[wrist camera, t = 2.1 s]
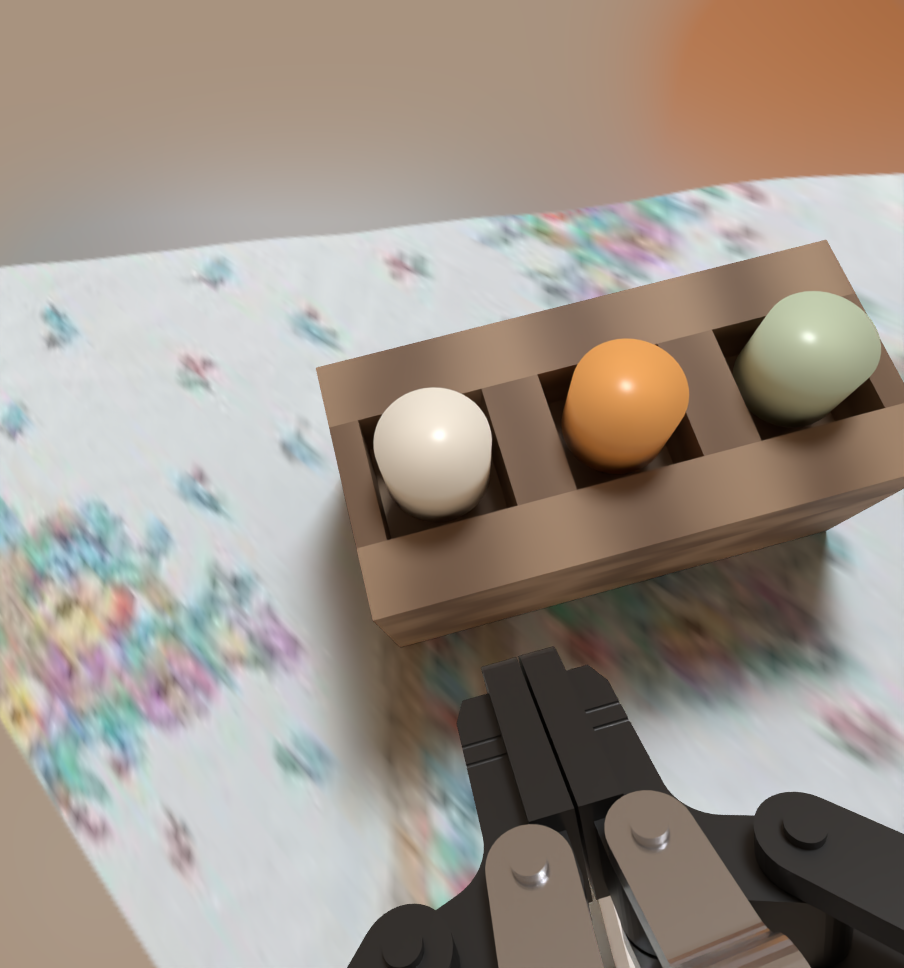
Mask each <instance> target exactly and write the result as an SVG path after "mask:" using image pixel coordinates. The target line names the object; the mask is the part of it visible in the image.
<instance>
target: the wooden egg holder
mask: <svg viewBox="0 0 904 968" xmlns="http://www.w3.org/2000/svg"><path fill="white" fill-rule="evenodd" d="M805 291H821V292H827V293H831V294H835V295H838V296H841V297H843V298H845V299H847V300H849V301H851V302H852V303H854V304H855V305H857V306H858V307H859V308H860V309H862V310H863V311H864V312H865V310H864V308H863V306H862V305H861V303H860V301H859V299H858V297H857V295H856V294H855V292H854V290H853V288H852V286H851V284H850V282H849V281H848V279H847V277H846V275H845V273H844V271H843V269H842V268H841V266H840V264H839V262H838V260H837V258H836V256H835V255H834V253H833V251H832V249H831V247H830V245H829V244H828V242H827V240H823V241H819V242H815V243H811V244H807V245H803V246H799V247H795V248H791V249H787V250H784V251H780V252H776V253H772V254H768V255H764V256H760V257H756V258H752V259H748V260H744V261H740V262H736V263H732V264H728V265H724V266H720V267H716V268H712V269H708V270H704V271H700V272H696V273H692V274H688V275H684V276H680V277H676V278H672V279H668V280H664V281H660V282H656V283H652V284H648V285H644V286H640V287H636V288H632V289H628V290H624V291H620V292H616V293H612V294H608V295H604V296H600V297H596V298H592V299H588V300H584V301H580V302H576V303H572V304H568V305H564V306H560V307H556V308H552V309H548V310H544V311H540V312H536V313H532V314H528V315H524V316H520V317H516V318H512V319H508V320H504V321H500V322H496V323H493V324H489V325H485V326H481V327H477V328H473V329H469V330H465V331H461V332H457V333H453V334H449V335H445V336H441V337H437V338H433V339H429V340H425V341H421V342H417V343H413V344H409V345H405V346H401V347H397V348H393V349H389V350H385V351H381V352H377V353H373V354H369V355H365V356H361V357H357V358H353V359H349V360H345V361H341V362H337V363H333V364H329V365H325V366H321V367H317V368H316V371H317V376H318V380H319V384H320V389H321V393H322V398H323V402H324V407H325V411H326V415H327V420H328V424H329V429H330V433H331V438H332V442H333V447H334V451H335V455H336V460H337V464H338V469H339V473H340V478H341V482H342V486H343V491H344V495H345V500H346V504H347V509H348V513H349V518H350V522H351V526H352V531H353V535H354V540H355V544H356V549H357V553H358V557H359V562H360V566H361V571H362V575H363V580H364V584H365V589H366V593H367V597H368V602H369V606H370V611H371V615H372V620H373V621H374V622H375V623H376V624H377V625H378V626H379V627H380V628H381V629H382V630H383V631H384V632H385V633H386V634H387V635H388V636H389V637H390V638H391V639H392V640H393V641H394V642H395V643H396V644H397V645H399V646H400V647H404V646H407V645H411V644H415V643H418V642H422V641H426V640H429V639H433V638H437V637H440V636H444V635H448V634H451V633H455V632H458V631H462V630H466V629H469V628H473V627H477V626H480V625H484V624H488V623H491V622H495V621H499V620H502V619H506V618H510V617H513V616H517V615H520V614H524V613H528V612H531V611H535V610H539V609H542V608H546V607H550V606H553V605H557V604H561V603H564V602H568V601H572V600H575V599H579V598H583V597H586V596H590V595H593V594H597V593H601V592H604V591H608V590H612V589H615V588H619V587H623V586H626V585H630V584H634V583H637V582H641V581H645V580H648V579H652V578H655V577H659V576H663V575H666V574H670V573H674V572H677V571H681V570H685V569H688V568H692V567H696V566H699V565H703V564H707V563H710V562H714V561H717V560H721V559H725V558H728V557H732V556H736V555H739V554H743V553H747V552H750V551H754V550H758V549H761V548H765V547H769V546H772V545H776V544H779V543H783V542H787V541H790V540H794V539H798V538H801V537H805V536H809V535H812V534H816V533H820V532H823V531H827V530H829V529H830V528H832V527H834V526H836V525H838V524H840V523H841V522H843V521H845V520H847V519H849V518H851V517H852V516H854V515H856V514H858V513H860V512H862V511H863V510H865V509H867V508H869V507H871V506H873V505H874V504H876V503H878V502H880V501H882V500H884V499H885V498H887V497H889V496H891V495H893V494H895V493H896V492H898V491H900V490H902V489H904V382H903V381H902V379H901V377H900V375H899V373H898V371H897V369H896V368H895V366H894V364H893V362H892V360H891V358H890V357H889V355H888V353H887V351H886V349H885V347H884V345H883V344H882V342H881V340H880V342H881V356H880V360H879V363H878V366H877V368H876V369H875V371H874V372H873V374H872V375H871V376H870V377H869V378H868V379H867V380H866V381H865V382H864V383H862V384H861V385H860V386H859V387H858V388H857V389H856V390H855V391H853V392H852V393H851V394H850V395H849V396H848V397H847V398H845V399H844V400H843V401H842V402H841V403H840V404H839V405H837V406H836V407H835V408H834V409H833V410H832V411H831V412H829V413H828V414H827V415H826V416H825V417H824V418H822V419H821V420H819V421H817V422H815V423H813V424H811V425H808V426H803V427H794V428H792V427H782V426H777V425H774V424H771V423H768V422H766V421H764V420H762V419H760V418H759V417H757V416H756V415H754V414H753V413H752V412H751V411H749V410H748V409H747V407H746V405H745V402H744V400H743V398H742V396H741V394H740V391H739V389H738V387H737V385H736V382H735V380H734V378H733V368H734V364H735V361H736V359H737V357H738V355H739V354H740V352H741V351H742V349H743V348H744V347H745V345H746V344H747V342H748V341H749V340H750V338H751V337H752V335H753V334H754V333H755V331H756V330H757V328H758V327H759V326H760V324H761V323H762V321H763V320H764V319H765V317H766V316H767V314H768V313H769V312H770V310H771V309H772V308H773V307H774V306H775V305H776V304H777V303H778V302H779V301H781V300H782V299H784V298H786V297H788V296H790V295H793V294H796V293H800V292H805ZM865 313H866V312H865ZM616 339H637V340H642V341H646V342H649V343H651V344H654V345H656V346H658V347H660V348H662V349H663V350H664V351H666V352H667V353H669V354H670V355H671V356H672V357H673V358H674V359H675V360H676V361H677V363H678V364H679V365H680V367H681V368H682V370H683V372H684V374H685V376H686V379H687V382H688V387H689V403H688V407H687V410H686V412H685V415H684V417H683V418H682V420H681V422H680V423H679V425H678V426H677V427H676V429H675V430H674V432H673V433H672V435H671V436H670V438H669V439H668V441H667V442H666V444H665V445H664V447H663V448H662V450H661V451H660V453H659V454H658V455H657V456H656V458H655V459H654V460H653V461H652V462H650V463H649V464H648V465H646V466H645V467H643V468H641V469H639V470H637V471H634V472H630V473H625V474H609V473H603V472H600V471H597V470H594V469H592V468H590V467H588V466H587V465H585V464H583V463H582V462H581V461H579V460H578V459H577V458H576V457H575V456H574V455H573V453H572V452H571V451H570V450H569V448H568V446H567V444H566V442H565V440H564V437H563V434H562V427H561V419H562V413H563V409H564V406H565V402H566V399H567V395H568V391H569V388H570V384H571V381H572V377H573V374H574V371H575V369H576V367H577V365H578V363H579V362H580V360H581V359H582V358H583V357H584V355H585V354H586V353H588V352H589V351H590V350H591V349H593V348H594V347H596V346H598V345H600V344H602V343H604V342H607V341H611V340H616ZM433 387H434V388H445V389H450V390H453V391H456V392H458V393H461V394H463V395H464V396H466V397H468V398H469V399H470V400H472V401H473V402H474V403H475V404H476V405H477V406H478V407H479V408H480V409H481V411H482V412H483V413H484V415H485V417H486V419H487V421H488V423H489V426H490V430H491V437H492V446H491V465H490V479H489V484H488V487H487V490H486V492H485V494H484V496H483V497H482V499H481V500H480V502H479V503H478V504H477V505H476V506H475V507H474V508H473V509H472V510H470V511H469V512H468V513H466V514H464V515H463V516H461V517H458V518H456V519H453V520H449V521H444V522H429V521H423V520H420V519H417V518H415V517H413V516H410V515H409V514H407V513H406V512H404V511H403V510H402V509H401V508H399V507H398V505H397V504H396V503H395V502H394V501H393V499H392V498H391V496H390V494H389V492H388V489H387V487H386V484H385V482H384V479H383V476H382V474H381V471H380V469H379V466H378V463H377V461H376V457H375V453H374V434H375V430H376V426H377V424H378V422H379V420H380V418H381V416H382V414H383V413H384V412H385V410H386V409H387V408H388V407H389V406H390V405H391V404H392V403H393V402H394V401H396V400H397V399H398V398H400V397H401V396H403V395H405V394H407V393H409V392H412V391H415V390H418V389H423V388H433Z"/></svg>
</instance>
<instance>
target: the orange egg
mask: <svg viewBox="0 0 904 968" xmlns="http://www.w3.org/2000/svg"><path fill="white" fill-rule="evenodd" d="M688 403H689V387H688V382H687V379H686V376H685V374H684V372H683V370H682V368H681V367H680V365H679V364H678V363H677V361H676V360H675V359H674V358H673V357H672V356H671V355H670V354H669V353H667V352H666V351H664V350H663V349H662V348H660V347H658V346H656V345H654V344H651V343H649V342H646V341H642V340H637V339H616V340H611V341H607V342H604V343H602V344H600V345H598V346H596V347H594V348H593V349H591V350H590V351H589V352H588V353H586V354H585V355H584V357H583V358H582V359H581V360H580V362H579V363H578V365H577V367H576V369H575V371H574V374H573V377H572V381H571V384H570V388H569V391H568V395H567V399H566V402H565V406H564V409H563V413H562V419H561V427H562V434H563V437H564V440H565V442H566V444H567V446H568V448H569V450H570V451H571V452H572V453H573V455H574V456H575V457H576V458H577V459H578V460H579V461H581V462H582V463H583V464H585V465H587V466H588V467H590V468H592V469H594V470H597V471H600V472H603V473H609V474H625V473H630V472H634V471H637V470H639V469H641V468H643V467H645V466H646V465H648V464H649V463H650V462H652V461H653V460H654V459H655V458H656V456H657V455H658V454H659V453H660V451H661V450H662V448H663V447H664V445H665V444H666V442H667V441H668V439H669V438H670V436H671V435H672V433H673V432H674V430H675V429H676V427H677V426H678V425H679V423H680V422H681V420H682V418H683V417H684V415H685V412H686V410H687V407H688Z"/></svg>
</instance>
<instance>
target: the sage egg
mask: <svg viewBox="0 0 904 968" xmlns="http://www.w3.org/2000/svg"><path fill="white" fill-rule="evenodd" d="M880 356H881V342H880V337H879V334H878V331H877V329H876V327H875V325H874V324H873V322H872V320H871V319H870V318H869V317H868V315H867V314H866V313H865V312H864V311H863V310H862V309H860V308H859V307H858V306H857V305H855V304H854V303H852V302H851V301H849V300H847V299H845V298H843V297H841V296H838V295H835V294H831V293H827V292H821V291H805V292H800V293H796V294H793V295H790V296H788V297H786V298H784V299H782V300H781V301H779V302H778V303H777V304H776V305H775V306H774V307H773V308H772V309H771V310H770V312H769V313H768V314H767V316H766V317H765V319H764V320H763V321H762V323H761V324H760V326H759V327H758V328H757V330H756V331H755V333H754V334H753V335H752V337H751V338H750V340H749V341H748V342H747V344H746V345H745V347H744V348H743V349H742V351H741V352H740V354H739V355H738V357H737V359H736V361H735V364H734V368H733V378H734V380H735V382H736V385H737V387H738V389H739V391H740V394H741V396H742V398H743V400H744V402H745V405H746V407H747V409H748V410H749V411H751V412H752V413H753V414H754V415H756V416H757V417H759V418H760V419H762V420H764V421H766V422H768V423H771V424H774V425H777V426H782V427H792V428H794V427H803V426H808V425H811V424H813V423H815V422H817V421H819V420H821V419H822V418H824V417H825V416H826V415H827V414H828V413H829V412H831V411H832V410H833V409H834V408H835V407H836V406H837V405H839V404H840V403H841V402H842V401H843V400H844V399H845V398H847V397H848V396H849V395H850V394H851V393H852V392H853V391H855V390H856V389H857V388H858V387H859V386H860V385H861V384H862V383H864V382H865V381H866V380H867V379H868V378H869V377H870V376H871V375H872V374H873V372H874V371H875V369H876V368H877V366H878V363H879V360H880Z"/></svg>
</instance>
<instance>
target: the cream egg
mask: <svg viewBox="0 0 904 968" xmlns="http://www.w3.org/2000/svg"><path fill="white" fill-rule="evenodd" d="M491 446H492V437H491V430H490V426H489V423H488V421H487V419H486V417H485V415H484V413H483V412H482V411H481V409H480V408H479V407H478V406H477V405H476V404H475V403H474V402H473V401H472V400H470V399H469V398H468V397H466V396H464V395H463V394H461V393H458V392H456V391H453V390H450V389H445V388H434V387H433V388H423V389H418V390H415V391H412V392H409V393H407V394H405V395H403V396H401V397H400V398H398V399H397V400H396V401H394V402H393V403H392V404H391V405H390V406H389V407H388V408H387V409H386V410H385V412H384V413H383V414H382V416H381V418H380V420H379V422H378V424H377V426H376V430H375V434H374V453H375V457H376V461H377V463H378V466H379V469H380V471H381V474H382V476H383V479H384V482H385V484H386V487H387V489H388V492H389V494H390V496H391V498H392V499H393V501H394V502H395V503H396V504H397V505H398V507H399V508H401V509H402V510H403V511H404V512H406V513H407V514H409V515H410V516H413V517H415V518H417V519H420V520H423V521H429V522H444V521H449V520H453V519H456V518H458V517H461V516H463V515H464V514H466V513H468V512H469V511H470V510H472V509H473V508H474V507H475V506H476V505H477V504H478V503H479V502H480V500H481V499H482V497H483V496H484V494H485V492H486V490H487V487H488V484H489V479H490V465H491Z"/></svg>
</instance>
